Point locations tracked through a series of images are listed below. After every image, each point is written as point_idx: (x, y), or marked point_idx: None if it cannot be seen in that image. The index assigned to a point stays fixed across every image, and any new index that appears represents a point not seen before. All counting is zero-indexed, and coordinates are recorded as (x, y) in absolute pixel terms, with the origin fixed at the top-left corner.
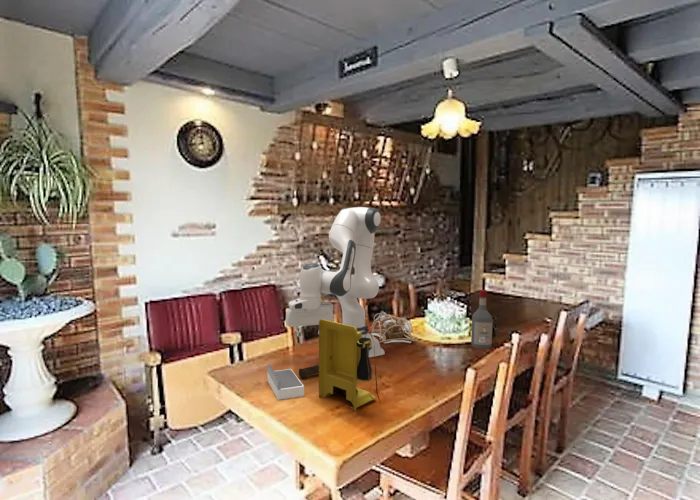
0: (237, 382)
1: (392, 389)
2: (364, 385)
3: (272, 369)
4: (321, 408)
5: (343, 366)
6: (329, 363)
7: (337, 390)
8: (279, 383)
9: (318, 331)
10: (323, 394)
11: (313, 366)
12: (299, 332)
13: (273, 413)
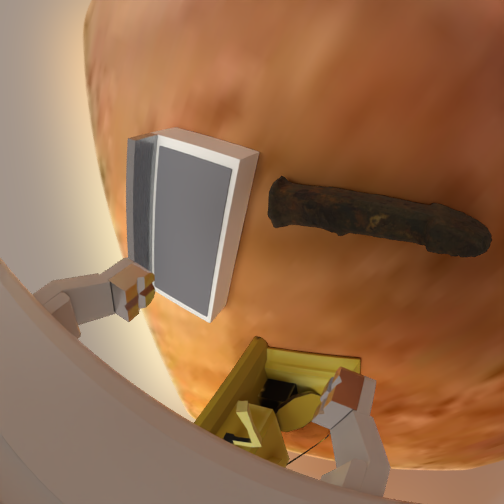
0: (110, 94)
1: (425, 423)
2: (409, 380)
3: (132, 201)
4: (231, 365)
5: (272, 447)
6: (235, 429)
7: (282, 385)
8: None
9: (329, 395)
10: (264, 346)
11: (350, 211)
12: (117, 312)
13: (147, 307)
